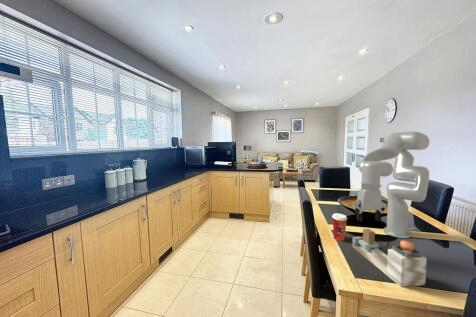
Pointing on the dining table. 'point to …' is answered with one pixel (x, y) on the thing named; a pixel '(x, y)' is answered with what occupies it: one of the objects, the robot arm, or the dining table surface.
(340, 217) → the paper cup
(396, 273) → the track
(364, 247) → the carriage
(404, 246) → the button
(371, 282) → the dining table surface
